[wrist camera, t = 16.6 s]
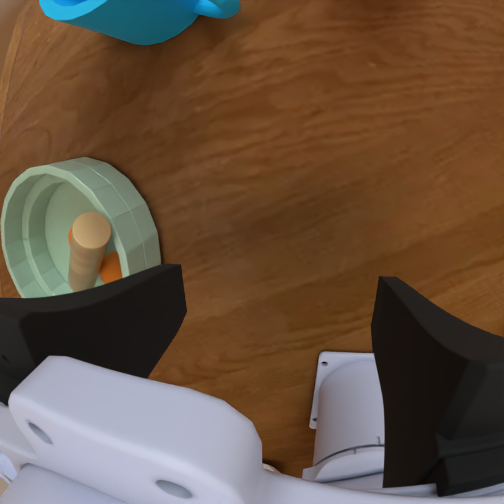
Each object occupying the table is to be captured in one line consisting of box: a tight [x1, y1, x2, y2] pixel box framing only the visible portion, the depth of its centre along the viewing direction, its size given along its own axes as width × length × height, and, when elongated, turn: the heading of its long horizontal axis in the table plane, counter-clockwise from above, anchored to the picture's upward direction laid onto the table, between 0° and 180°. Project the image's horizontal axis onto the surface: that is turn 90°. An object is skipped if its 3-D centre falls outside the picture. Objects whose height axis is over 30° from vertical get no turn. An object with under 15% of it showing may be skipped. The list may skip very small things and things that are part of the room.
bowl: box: [1, 157, 161, 298], centre depth 23 cm, size 14×14×5 cm
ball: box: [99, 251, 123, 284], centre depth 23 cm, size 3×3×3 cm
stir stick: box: [68, 212, 111, 292], centre depth 20 cm, size 2×2×9 cm
